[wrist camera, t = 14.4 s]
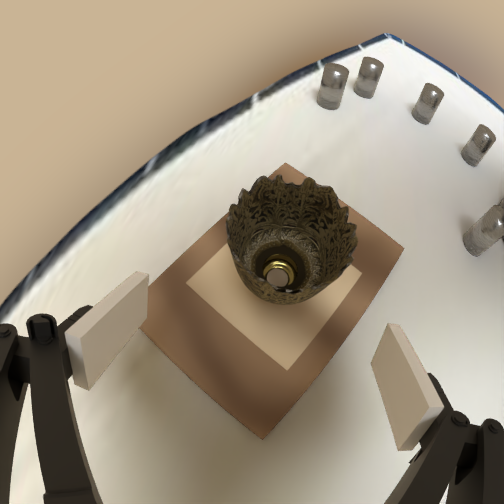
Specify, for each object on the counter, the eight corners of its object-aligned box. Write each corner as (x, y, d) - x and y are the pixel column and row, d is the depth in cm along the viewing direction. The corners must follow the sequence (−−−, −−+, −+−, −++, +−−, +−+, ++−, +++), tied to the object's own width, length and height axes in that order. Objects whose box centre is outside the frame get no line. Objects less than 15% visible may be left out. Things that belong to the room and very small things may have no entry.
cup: (326, 244, 25) (357, 184, 18) (320, 331, 22) (359, 297, 15) (238, 230, 26) (238, 163, 19) (220, 316, 22) (212, 275, 15)
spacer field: (421, 91, 41) (432, 66, 36) (521, 238, 28) (546, 216, 24) (306, 86, 38) (312, 53, 33) (411, 279, 25) (443, 252, 20)
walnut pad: (284, 167, 30) (285, 161, 29) (400, 252, 27) (404, 248, 26) (127, 313, 23) (123, 310, 22) (261, 438, 19) (262, 440, 18)
